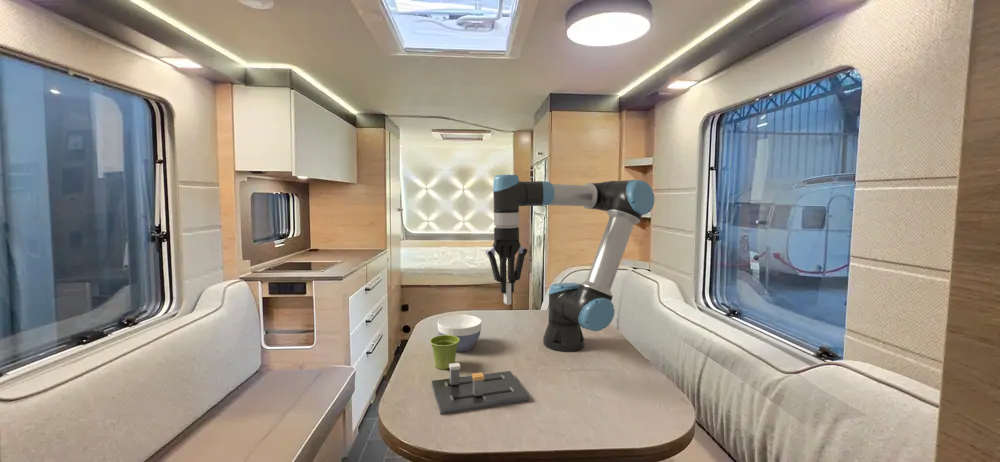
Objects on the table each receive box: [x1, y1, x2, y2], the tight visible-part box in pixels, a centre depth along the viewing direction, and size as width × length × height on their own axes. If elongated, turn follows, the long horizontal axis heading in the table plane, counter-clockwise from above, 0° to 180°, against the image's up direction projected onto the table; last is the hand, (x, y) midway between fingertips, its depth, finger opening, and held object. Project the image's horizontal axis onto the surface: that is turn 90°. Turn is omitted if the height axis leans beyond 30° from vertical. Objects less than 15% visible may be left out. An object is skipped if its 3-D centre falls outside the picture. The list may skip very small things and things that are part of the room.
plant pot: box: [429, 335, 460, 370], centre depth 130 cm, size 9×9×9 cm
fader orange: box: [471, 372, 484, 396], centre depth 108 cm, size 3×2×5 cm
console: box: [431, 370, 530, 415], centre depth 113 cm, size 24×16×2 cm, turn 108°
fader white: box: [448, 362, 461, 385], centre depth 114 cm, size 3×2×5 cm
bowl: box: [437, 314, 483, 352], centre depth 147 cm, size 16×16×10 cm
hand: (507, 303), depth 123 cm, fingers closed
